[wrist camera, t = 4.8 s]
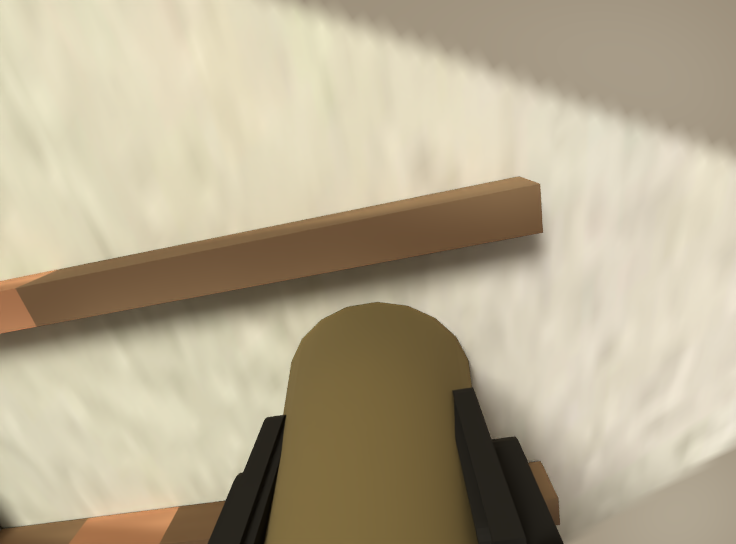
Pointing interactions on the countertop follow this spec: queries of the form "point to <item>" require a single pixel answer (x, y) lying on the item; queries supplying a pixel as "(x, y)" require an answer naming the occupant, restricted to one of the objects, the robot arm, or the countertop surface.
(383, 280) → the countertop surface
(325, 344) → the cork
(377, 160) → the countertop surface
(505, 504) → the robot arm
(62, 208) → the countertop surface
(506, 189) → the guide channel
